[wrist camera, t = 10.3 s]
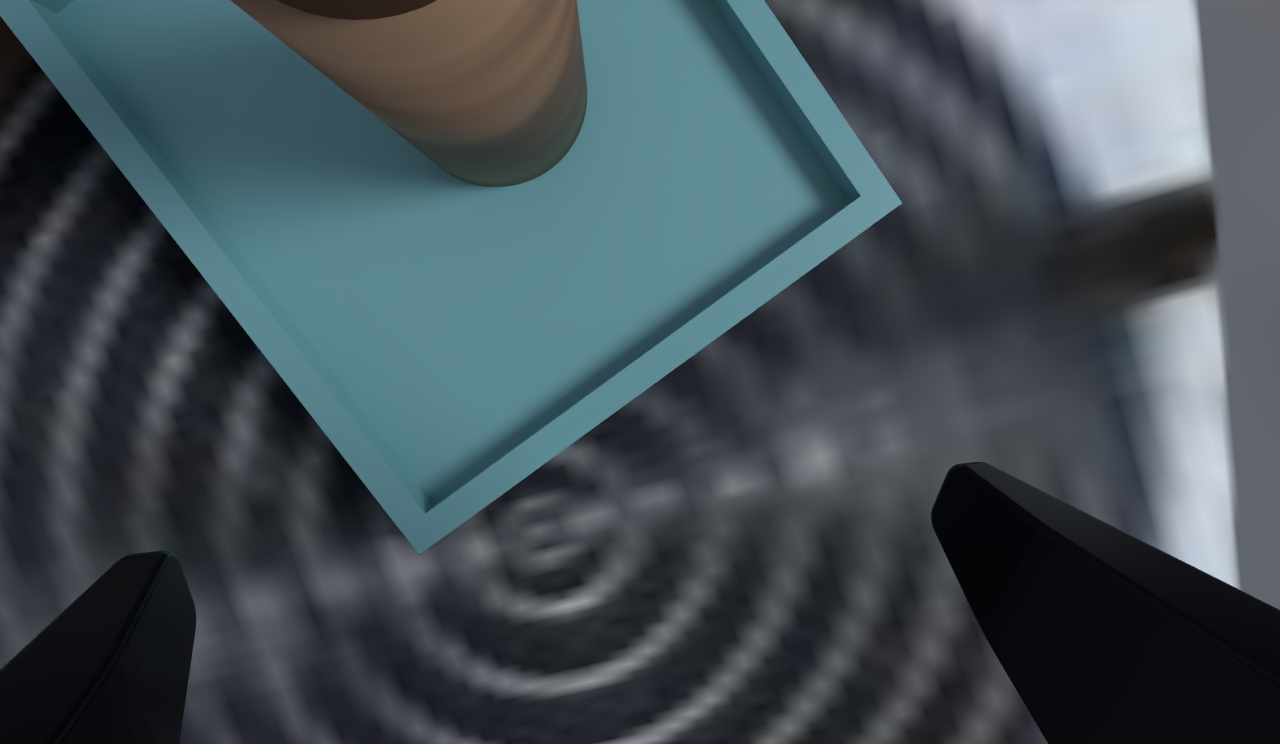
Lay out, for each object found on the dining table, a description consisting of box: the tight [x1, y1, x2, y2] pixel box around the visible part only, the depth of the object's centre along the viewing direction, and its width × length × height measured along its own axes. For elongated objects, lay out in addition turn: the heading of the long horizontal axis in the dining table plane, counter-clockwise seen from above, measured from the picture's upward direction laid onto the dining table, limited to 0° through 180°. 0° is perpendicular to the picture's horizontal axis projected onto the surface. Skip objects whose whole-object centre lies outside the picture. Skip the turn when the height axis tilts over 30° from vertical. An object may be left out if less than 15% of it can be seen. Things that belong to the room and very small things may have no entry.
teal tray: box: [0, 0, 902, 555], centre depth 20 cm, size 18×16×2 cm
